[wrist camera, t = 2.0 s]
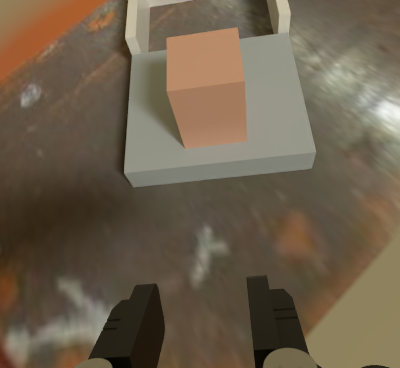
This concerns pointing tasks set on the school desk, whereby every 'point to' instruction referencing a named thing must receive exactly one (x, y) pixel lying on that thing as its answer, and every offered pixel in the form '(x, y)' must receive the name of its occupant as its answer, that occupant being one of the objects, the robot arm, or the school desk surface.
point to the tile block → (207, 87)
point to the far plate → (225, 153)
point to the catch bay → (141, 3)
